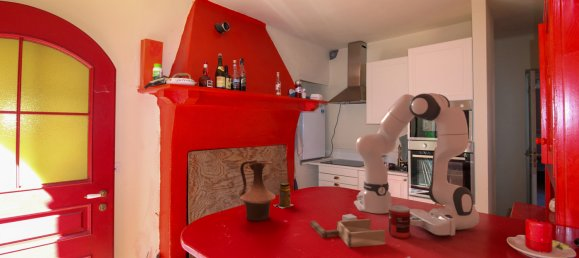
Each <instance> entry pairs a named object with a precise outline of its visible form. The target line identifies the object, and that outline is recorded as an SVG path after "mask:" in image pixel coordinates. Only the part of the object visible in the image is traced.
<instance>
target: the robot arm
mask: <svg viewBox="0 0 579 258" xmlns="http://www.w3.org/2000/svg"><path fill="white" fill-rule="evenodd" d="M414 118H418V119H421V120H426V121H429V122H432V121H433V122H434V123H435V125H436V135H437V140H436V141H437V142H436V147H435V148H434V150H433V153H432V154H433V155H432V163H431V164H432V165H431V180H430V183H429V187H428V196H429V198H430V200H431V201H432V202H433V203H435V204H438V205H442V206H444V207H439V208H438V207H437V208H431V209H430V210H429V212H428V211H426V210H423V209H420V208H419V209H418V208H410V226H417V227H421V228H423V229H424V230H427V231H428V232H430V233H432V234H433V235H436V236H448V235H449V236H455V235H456V231H457V230H459V231H460V230H468V229H472V228H474V227H476V226H477V225H478V224H479V223H480V215H479V212H478V210H477V209H476V208H475V206H474V197H473V193H472V192H471V190H470V189H468V187H465V186H462V185H457V184H453V183H449V181H448V168H449V162H450V161H451V159H453V158H455V157H458V156H460V155H462V154H463V153H464V152H465V151H466V150H467V149H468V147H469V141H470V140H469V139H470V138H469V129H468V128H469V127H468V123H467V118H466V114H465V111H464V110H463V109H462V108H458V107H456V106H455V107H453V106H451V102H450V100H449V99H448V97H447V96H445V95H443V94H440V93H433V92H431V93H430V92H429V93H419V94H417V95H415V96H414V95H412V94H408V93H406V94H405V93H404V94H403V95H401V96H400V97H399V98H398V99H397V100H395V102H394V103H393V104H392V105H391V107H389V108H388V110H387V112H386V113H385V114H384V116H383V117H382V118H381V119H380V121H379V128H378V131H377V132H376V133H374V134H372V133H371V134H364V135H362V136H360V137H358V138H357V139H356V142H355V150H356V152H357V153H358V154H359V155H360V157H361V159H362V162H363V166H364V178H365V179H364V180H365V181H363V189H362V190H360V192H358V194H357V195H356V200H354V201H353V205H355V207H356V208H357V210H358V211H360V212H365V213H370V214H389V206H391V205H393V203H392V195H391V192H390V191H389V190H390V186H389V184H390V183H389V181H388V180H389V179H388V175H389V174H388V172H389V170H388V167H387V166H388V165H386V164H385V163H384V161H383V160H384V159H383V156H385V155H387V154H390V153H391V152H393V151H394V150H395V149H396V147H397V146H396V145H397V140H398V138H399V137H400V134H402V132H403V131H404V130H405V129H406V128H407V126H408V125H409V124H410V122H411V121H412V120H413V119H414Z"/></svg>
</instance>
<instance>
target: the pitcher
mask: <svg viewBox="0 0 579 258" xmlns="http://www.w3.org/2000/svg"><path fill="white" fill-rule="evenodd" d="M272 164H273V162H272V161H270V160H261V161H258V160H257V159H252V160H251V159H250V160H244V161H243V162H242V163H241V165H240V169H239V170H240V175H241V178H242V182H243V187H242V191H241V192H240V193H239V195H238V199H240V200H241V201H243V203H244V204H245V205H244V206H245V207H244V208H245V212H246V219H247V220H249V221H250V222H263V221H267V220H268V219H270V210H271V209H270V208H271V202H272V201H273V200H275V199H276V195H275V194H274V193H272V192H271V191H270V190H268V189H267V187H266V186H265V184H264V181H263V171H264V169H265V167H266V166H267V165H272ZM245 165H247V166H248V168H250V169H251V171H253V181H252V184H251V185H250V187H249V189H248V190H247V179H246V173H245V170H244V167H245Z"/></svg>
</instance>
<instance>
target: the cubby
mask: <svg viewBox="0 0 579 258" xmlns="http://www.w3.org/2000/svg"><path fill="white" fill-rule="evenodd" d="M336 229H337V230H338V231H339V236H338V237H339V238H340V239H341V240H342V241H343V242H344V243H345V244H346V246H347V247H348V248H358V247H369V246H370V247H371V246H379V245H380V246H381V245H386V230H385V229H376V230H371V219H370V218H365V219H357V220H347V221H342V220H337V221H336Z"/></svg>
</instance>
